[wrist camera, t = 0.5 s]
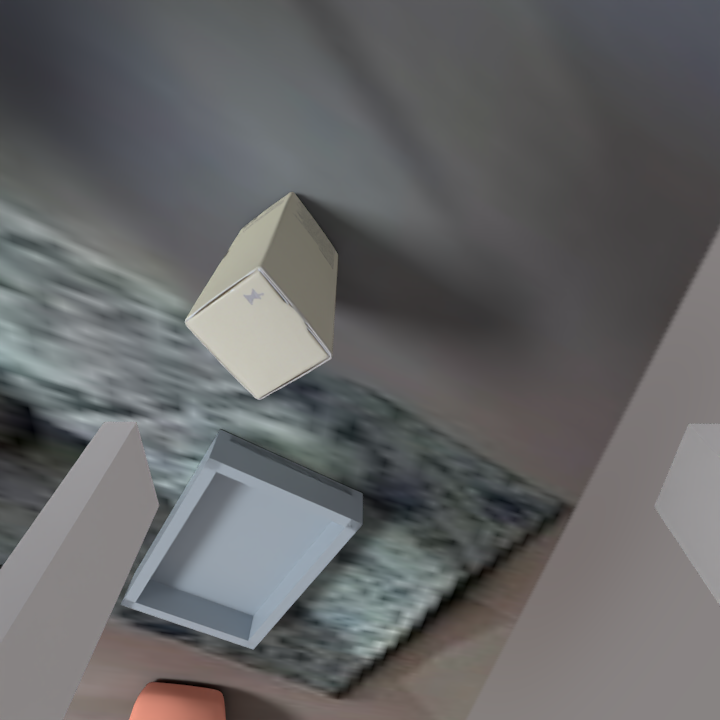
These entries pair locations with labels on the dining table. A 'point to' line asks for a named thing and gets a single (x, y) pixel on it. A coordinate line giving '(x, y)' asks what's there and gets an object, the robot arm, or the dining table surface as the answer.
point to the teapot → (178, 703)
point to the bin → (243, 542)
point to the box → (271, 300)
